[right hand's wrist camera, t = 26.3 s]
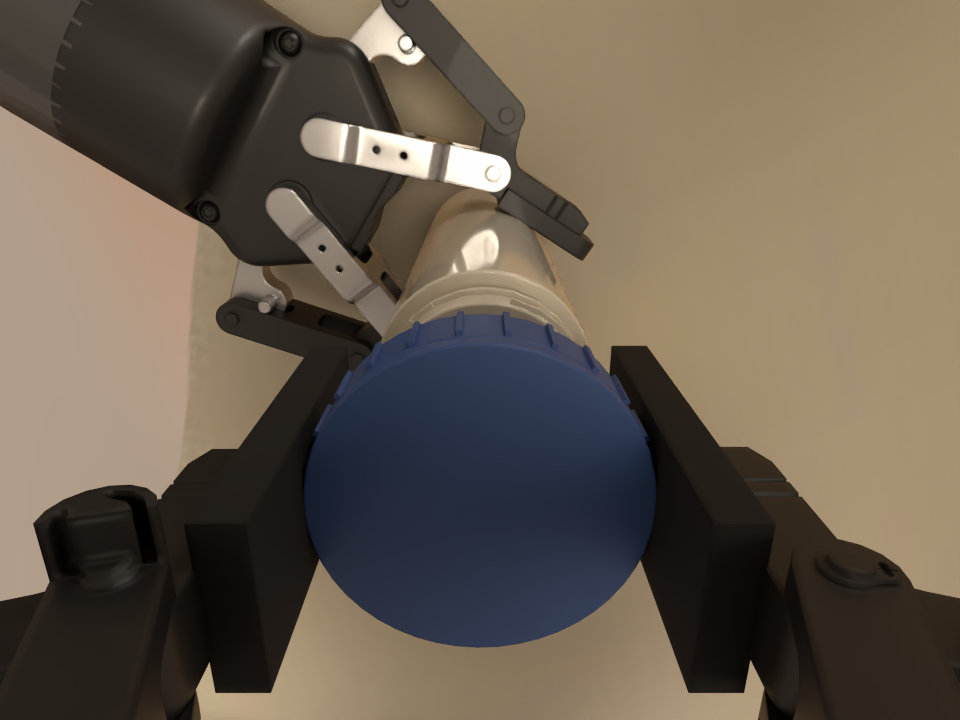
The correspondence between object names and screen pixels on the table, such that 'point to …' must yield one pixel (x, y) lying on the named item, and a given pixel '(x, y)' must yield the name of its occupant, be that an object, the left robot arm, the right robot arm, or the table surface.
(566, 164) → the table surface
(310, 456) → the lid
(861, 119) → the table surface
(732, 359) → the table surface
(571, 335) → the jar
